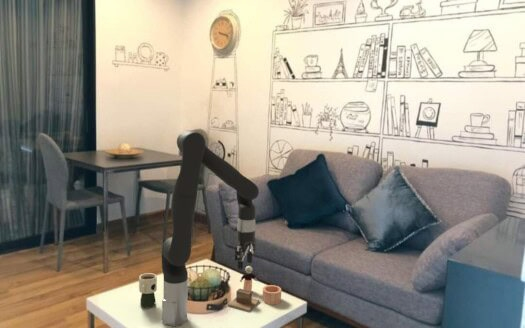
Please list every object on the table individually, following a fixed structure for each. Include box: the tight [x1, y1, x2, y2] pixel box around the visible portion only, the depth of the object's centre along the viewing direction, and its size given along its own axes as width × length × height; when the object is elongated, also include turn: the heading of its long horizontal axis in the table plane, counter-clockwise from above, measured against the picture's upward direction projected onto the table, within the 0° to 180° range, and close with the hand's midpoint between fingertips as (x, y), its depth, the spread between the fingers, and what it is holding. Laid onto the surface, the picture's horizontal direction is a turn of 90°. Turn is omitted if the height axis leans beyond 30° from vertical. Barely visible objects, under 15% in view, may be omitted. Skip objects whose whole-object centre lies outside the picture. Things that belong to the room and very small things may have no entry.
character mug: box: [138, 272, 158, 309], centre depth 182 cm, size 11×7×13 cm, turn 175°
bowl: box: [261, 284, 282, 306], centre depth 190 cm, size 8×8×6 cm
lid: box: [227, 288, 260, 313], centre depth 186 cm, size 10×10×6 cm
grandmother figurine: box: [239, 265, 258, 291], centre depth 198 cm, size 8×4×13 cm, turn 112°
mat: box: [226, 300, 261, 314], centre depth 186 cm, size 11×11×1 cm
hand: (245, 265), depth 184 cm, fingers open, 8 cm apart
